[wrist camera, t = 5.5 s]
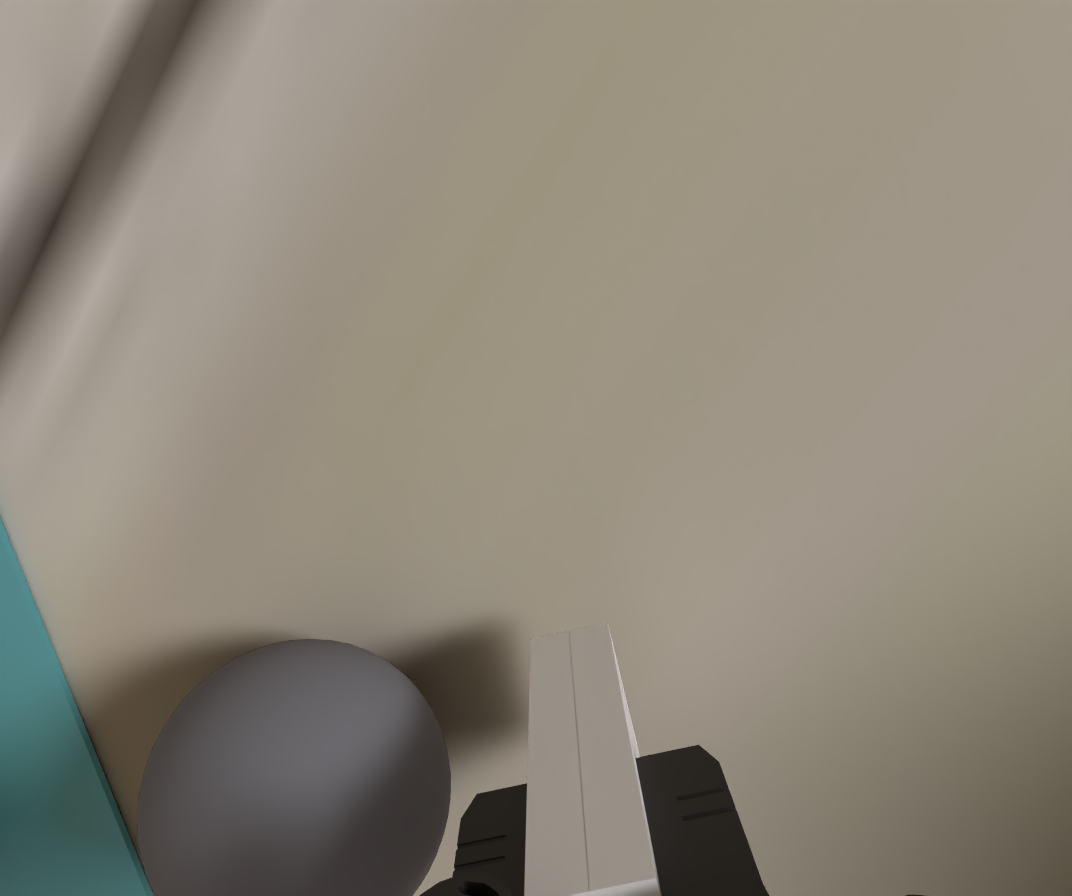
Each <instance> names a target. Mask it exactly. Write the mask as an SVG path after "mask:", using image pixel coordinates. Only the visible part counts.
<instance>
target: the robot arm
mask: <svg viewBox="0 0 1072 896" xmlns="http://www.w3.org/2000/svg"><path fill="white" fill-rule="evenodd" d="M457 846H458V849H457V850H456V857H455V864H454V867H455V871H453V877H452V878H449V879H447V880H444V881H441V882H439V883H437V884H436V885H434V886H433V887H431V888H430V889H428V890H427V891H425V892H424V893H422V894H421V895H420V896H769V894H768V893H767V891H766V889H765V887H764V885H763V883H762V880H761V877H760V874H759V872H758V869H757V866H756V863H755V861H754V858H753V855H752V852H751V849H750V847H749V844H748V841H747V838H746V835H745V833H744V830H743V827H742V824H741V822H740V819H739V816H738V813H737V810H736V809H735V805H734V802H733V799H732V796H731V794H730V791H729V789H728V785H727V783H726V780H725V777H724V774H723V771H722V769H721V766H720V763H719V762H718V761H717V760H716V759H715V758H714V757H712V756H711V755H710V754H709V753H708V752H707V751H705V750H704V749H703V748H702V747H701V746H699V745H695V746H691V747H686V748H681V749H676V750H672V751H667V752H662V753H657V754H653V755H648V756H643V757H640V756H639V751H638V746H637V742H636V738H635V734H634V730H633V725H632V721H631V717H630V713H629V709H628V705H627V700H626V696H625V692H624V688H623V684H622V680H621V675H620V671H619V667H618V663H617V659H616V655H615V650H614V646H613V642H612V638H611V634H610V630H609V625H608V622H606V623H602V624H597V625H593V626H588V627H583V628H579V629H574V630H570V631H565V632H561V633H556V634H552V635H547V636H543V637H538V638H534V639H531V652H530V691H529V730H528V769H527V784H522V785H517V786H513V787H508V788H503V789H499V790H494V791H489V792H484V793H480V794H477V795H476V796H475V798H474V799H473V801H472V802H471V804H470V806H469V807H468V809H467V810H466V812H465V813H464V815H463V816H462V818H461V822H460V829H459V836H458V843H457ZM906 896H922V895H906Z"/></svg>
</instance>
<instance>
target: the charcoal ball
mask: <svg viewBox="0 0 1072 896" xmlns="http://www.w3.org/2000/svg"><path fill="white" fill-rule="evenodd" d="M450 794H451V772H450V765H449V759H448V753H447V747H446V743H445V740H444V737H443V733H442V730H441V728H440V726H439V723H438V721H437V719H436V717H435V715H434V713H433V711H432V708H431V707H430V705H429V704H428V702H427V701H426V699H425V698H424V697H423V695H422V694H421V692H420V691H419V690H418V688H417V687H416V686H415V685H414V684H413V683H412V682H411V681H410V680H409V679H408V678H407V676H406V675H404V674H403V673H402V672H401V671H399V670H398V669H397V668H396V667H394V666H393V665H392V664H390V663H389V662H388V661H386V660H385V659H383V658H381V657H379V656H377V655H375V654H374V653H372V652H369V651H367V650H364V649H362V648H359V647H356V646H353V645H350V644H347V643H342V642H337V641H332V640H316V639H303V640H290V641H285V642H280V643H274V644H271V645H268V646H265V647H261V648H258V649H255V650H253V651H251V652H248V653H246V654H244V655H242V656H239V657H237V658H236V659H234V660H232V661H231V662H229V663H227V664H225V665H224V666H222V667H220V668H219V669H218V670H216V671H215V672H214V673H212V674H211V675H210V676H208V677H207V678H205V679H204V680H203V681H202V682H201V683H200V684H199V685H198V686H197V687H196V688H195V689H193V690H192V691H191V692H190V693H189V694H188V696H187V697H186V698H185V699H184V700H183V701H182V703H181V704H180V705H179V706H178V707H177V708H176V710H175V711H174V713H173V714H172V716H171V717H170V719H169V720H168V722H167V723H166V725H165V726H164V728H163V729H162V731H161V733H160V735H159V737H158V739H157V741H156V743H155V744H154V746H153V748H152V751H151V754H150V756H149V759H148V762H147V764H146V767H145V771H144V775H143V779H142V784H141V788H140V792H139V797H138V810H137V831H138V843H139V850H140V854H141V858H142V862H143V866H144V869H145V873H146V876H147V879H148V881H149V883H150V885H151V888H152V890H153V892H154V894H155V896H413V894H414V893H415V892H416V890H417V889H418V887H419V886H420V885H421V883H422V881H423V880H424V878H425V876H426V875H427V873H428V871H429V870H430V868H431V865H432V863H433V861H434V859H435V857H436V855H437V852H438V849H439V846H440V844H441V841H442V838H443V835H444V831H445V827H446V823H447V819H448V814H449V805H450Z"/></svg>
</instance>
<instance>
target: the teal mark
mask: <svg viewBox="0 0 1072 896" xmlns="http://www.w3.org/2000/svg"><path fill="white" fill-rule="evenodd" d="M0 896H154V895H153V893H152V891H151V888H150V886H149V883H148V881H147V878H146V876H145V873H144V871H143V868H142V866H141V863H140V861H139V858H138V856H137V853H136V851H135V849H134V846H133V844H132V841H131V839H130V836H129V834H128V831H127V829H126V826H125V824H124V821H123V819H122V816H121V814H120V811H119V809H118V807H117V804H116V802H115V799H114V797H113V794H112V792H111V789H110V787H109V784H108V782H107V779H106V777H105V774H104V772H103V769H102V767H101V765H100V762H99V760H98V757H97V755H96V752H95V750H94V747H93V745H92V742H91V740H90V737H89V735H88V732H87V730H86V727H85V725H84V723H83V720H82V718H81V715H80V713H79V710H78V708H77V705H76V703H75V700H74V698H73V695H72V693H71V690H70V688H69V685H68V683H67V681H66V678H65V676H64V673H63V671H62V668H61V666H60V663H59V661H58V658H57V656H56V653H55V651H54V648H53V646H52V643H51V641H50V639H49V636H48V634H47V631H46V629H45V626H44V624H43V621H42V619H41V616H40V614H39V611H38V609H37V606H36V604H35V601H34V599H33V597H32V594H31V592H30V589H29V587H28V584H27V582H26V579H25V577H24V574H23V572H22V569H21V567H20V564H19V562H18V559H17V557H16V555H15V552H14V550H13V547H12V545H11V542H10V540H9V537H8V535H7V532H6V530H5V527H4V525H3V522H2V520H1V517H0Z"/></svg>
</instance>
